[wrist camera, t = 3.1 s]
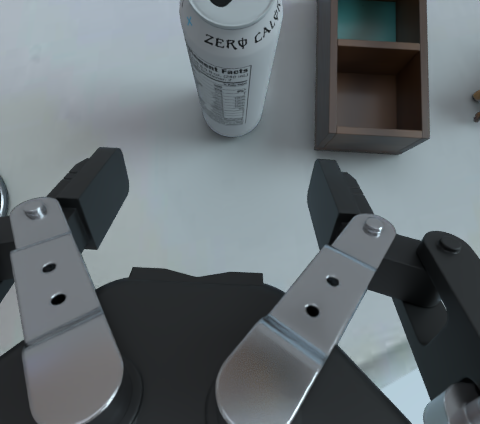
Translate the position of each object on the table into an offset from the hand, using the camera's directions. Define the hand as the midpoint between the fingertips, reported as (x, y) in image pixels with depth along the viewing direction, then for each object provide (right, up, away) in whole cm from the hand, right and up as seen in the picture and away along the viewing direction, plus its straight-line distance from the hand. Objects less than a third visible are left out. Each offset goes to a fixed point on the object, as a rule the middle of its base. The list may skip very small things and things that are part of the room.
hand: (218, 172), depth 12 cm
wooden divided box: (+13, +13, +19) cm, 26 cm away
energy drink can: (0, +9, +18) cm, 20 cm away
